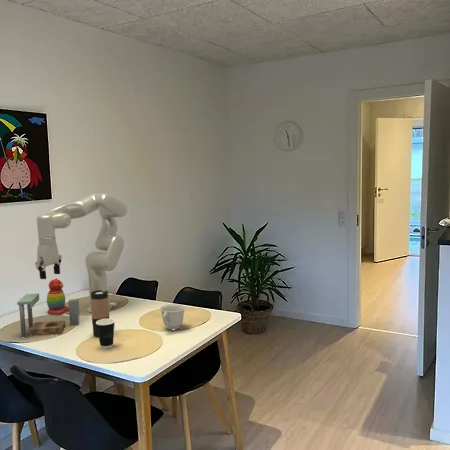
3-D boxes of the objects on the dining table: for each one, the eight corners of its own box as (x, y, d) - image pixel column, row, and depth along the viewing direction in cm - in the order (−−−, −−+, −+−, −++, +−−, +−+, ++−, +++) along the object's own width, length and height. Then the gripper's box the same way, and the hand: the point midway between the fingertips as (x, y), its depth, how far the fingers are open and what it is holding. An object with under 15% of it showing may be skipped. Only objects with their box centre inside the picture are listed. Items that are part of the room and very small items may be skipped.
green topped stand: (41, 326, 226) (39, 293, 224) (33, 337, 213) (31, 301, 211) (28, 327, 226) (25, 294, 224) (19, 338, 212) (17, 302, 210)
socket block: (65, 326, 226) (65, 320, 226) (61, 334, 216) (60, 327, 215) (35, 328, 224) (35, 322, 224) (29, 336, 214) (29, 329, 214)
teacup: (152, 333, 214) (151, 312, 213) (167, 323, 228) (167, 303, 227) (176, 336, 210) (175, 314, 209) (190, 325, 224) (189, 305, 222)
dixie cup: (109, 350, 194) (107, 325, 193) (93, 348, 197) (91, 323, 196) (120, 344, 202) (118, 319, 200) (104, 342, 204) (103, 317, 203)
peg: (79, 322, 232) (78, 299, 230) (78, 325, 228) (76, 301, 226) (71, 323, 231) (69, 299, 230) (69, 325, 227) (68, 301, 226)
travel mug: (94, 338, 208) (92, 295, 206) (91, 333, 215) (88, 291, 213) (112, 335, 212) (109, 292, 210) (108, 330, 219) (105, 289, 216)
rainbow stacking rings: (61, 315, 244) (59, 281, 242) (43, 314, 246) (41, 281, 244) (71, 309, 255) (69, 277, 253) (54, 308, 256) (51, 276, 254)
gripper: (53, 237, 230) (56, 271, 232) (27, 244, 214) (30, 280, 216) (65, 238, 227) (68, 272, 229) (40, 244, 211) (44, 281, 213)
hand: (50, 276), depth 223 cm, fingers open, 9 cm apart
